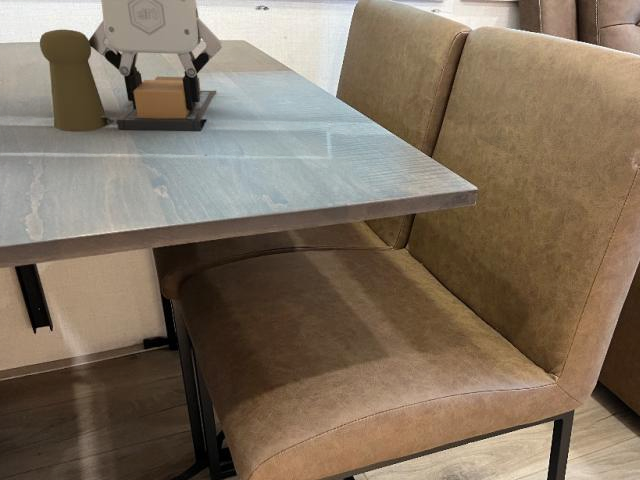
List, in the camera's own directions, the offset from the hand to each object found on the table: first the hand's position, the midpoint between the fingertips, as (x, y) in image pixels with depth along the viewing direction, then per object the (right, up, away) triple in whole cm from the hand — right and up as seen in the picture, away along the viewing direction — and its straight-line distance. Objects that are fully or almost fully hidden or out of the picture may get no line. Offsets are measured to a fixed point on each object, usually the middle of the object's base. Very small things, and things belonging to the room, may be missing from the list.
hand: (165, 105), depth 79 cm
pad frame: (-1, 0, +4) cm, 4 cm away
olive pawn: (-9, -3, -2) cm, 10 cm away
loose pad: (0, -1, 0) cm, 1 cm away
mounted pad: (-1, +2, +7) cm, 7 cm away
